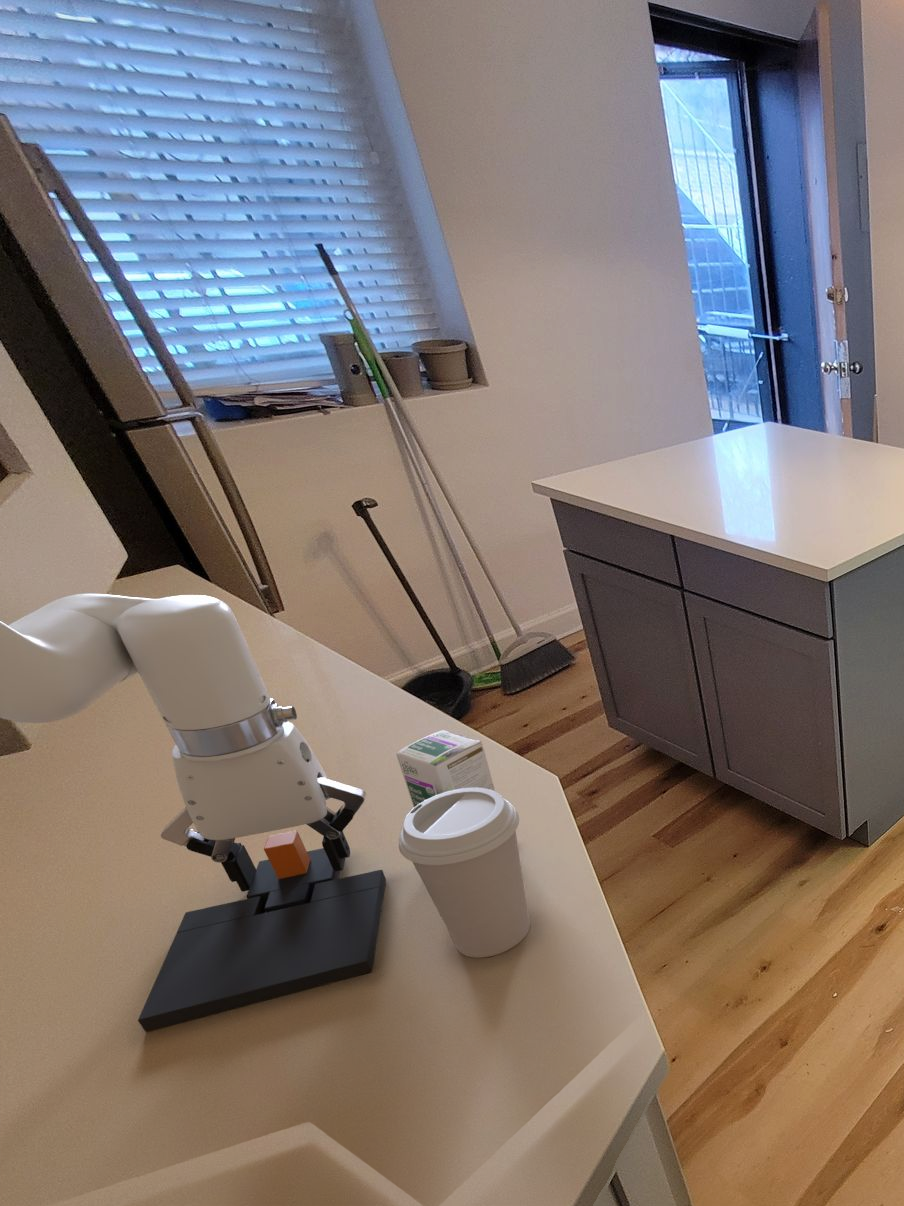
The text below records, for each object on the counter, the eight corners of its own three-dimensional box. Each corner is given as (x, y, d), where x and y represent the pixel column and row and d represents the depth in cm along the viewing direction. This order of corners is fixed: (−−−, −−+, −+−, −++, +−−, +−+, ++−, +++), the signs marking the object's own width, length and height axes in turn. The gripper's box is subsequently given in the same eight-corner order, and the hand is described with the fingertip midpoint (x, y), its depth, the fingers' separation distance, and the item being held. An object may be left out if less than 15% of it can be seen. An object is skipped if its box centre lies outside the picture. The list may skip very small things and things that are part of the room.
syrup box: (429, 864, 86) (390, 752, 79) (475, 833, 91) (442, 726, 84) (469, 878, 85) (432, 766, 78) (513, 846, 90) (483, 738, 83)
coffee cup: (503, 888, 84) (468, 772, 76) (568, 920, 80) (537, 801, 73) (415, 947, 76) (366, 823, 69) (482, 984, 73) (439, 859, 65)
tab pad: (245, 925, 77) (222, 882, 75) (264, 871, 84) (243, 831, 81) (332, 904, 80) (313, 863, 78) (344, 855, 87) (326, 815, 84)
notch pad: (145, 1032, 66) (137, 1020, 66) (191, 923, 77) (185, 912, 76) (372, 972, 73) (367, 960, 73) (386, 879, 84) (382, 869, 83)
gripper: (345, 694, 80) (397, 832, 89) (117, 726, 73) (199, 873, 82) (334, 728, 74) (391, 872, 83) (86, 767, 67) (177, 920, 76)
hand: (295, 871), depth 82 cm, fingers closed on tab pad, 7 cm apart
